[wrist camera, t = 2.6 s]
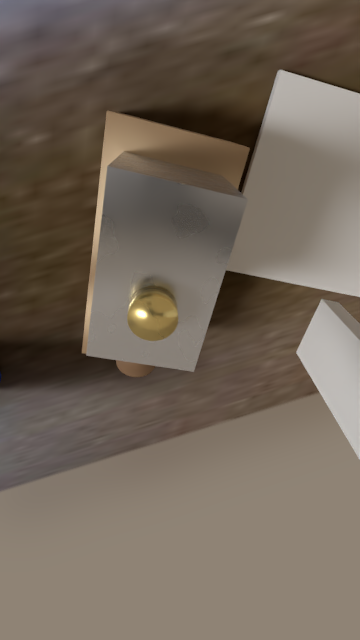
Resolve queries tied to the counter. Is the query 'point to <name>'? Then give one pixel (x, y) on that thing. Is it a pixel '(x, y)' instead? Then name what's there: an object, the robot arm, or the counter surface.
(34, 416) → the counter surface
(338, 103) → the felt mat
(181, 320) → the white knobbed box
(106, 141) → the body
